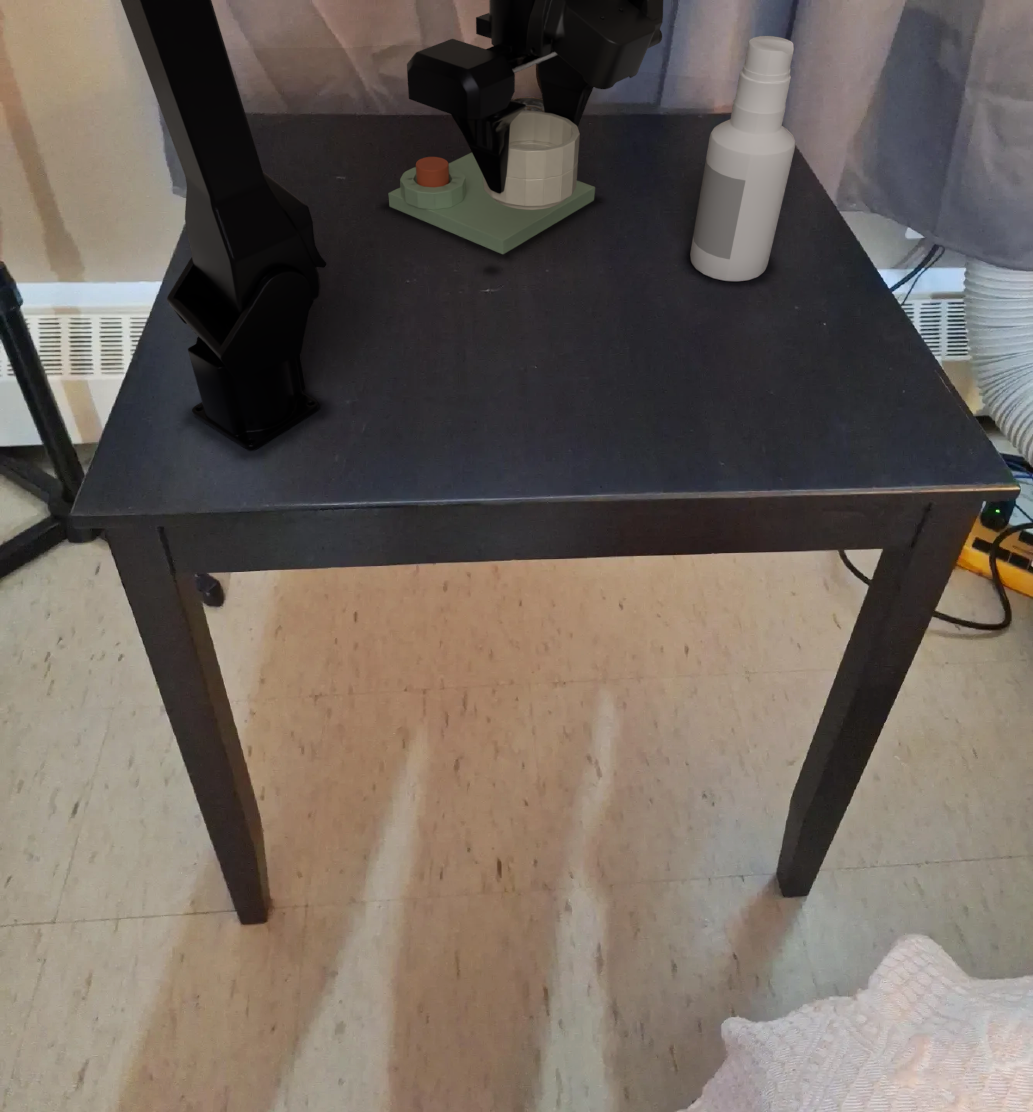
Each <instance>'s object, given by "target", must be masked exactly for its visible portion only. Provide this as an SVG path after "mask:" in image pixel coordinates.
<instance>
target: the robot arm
mask: <svg viewBox="0 0 1033 1112" xmlns="http://www.w3.org/2000/svg"><path fill="white" fill-rule="evenodd" d="M120 3H121V5H122V9H123V11H124V14H125V17H126V19H127V22H128V24H129V27H130V30H131V33H132V35H133V38H134V40H135V44H136V46H137V49H138V52H139V55H140V57H141V60H142V63H143V65H144V68H145V71H146V74H147V76H148V79H149V82H150V85H151V87H152V90H153V93H154V96H155V98H156V100H157V103H158V106H159V109H160V111H161V114H162V118H163V120H164V122H165V123H164V124H165V125H166V128H167V130H168V133H169V137H170V140H171V141H172V144H173V147H174V150H175V152H176V155H177V157H178V160H179V163H180V166H181V168H182V171H183V175H184V178H185V184H186V194H185V205H184V206H185V208H184V221H185V222H184V223H185V227H186V232H187V233H186V234H187V238H188V242H189V248H190V253H191V257H190V259H189V260H188V262H187V264H186V265H185V267H184V268H183V270H182V272H181V273H180V275H179V277H178V278H177V280H176V282H175V283H174V285H173V287H172V288H171V290H170V292H169V293H168V295H167V297H166V302H167V303H168V305H169V306H170V307H171V309H172V310H173V311H174V313H175V314H176V315H177V316H178V318H179V319H180V320H181V322H183V323H184V325H187V326H188V327H189V328H190V329H191V330H192V331H193V333H194V334H195V335H196V336H197V337H196V342H195V344H193V345H190V346H189V347H188V348H187V352H188V356H189V360H190V363H191V367H192V370H193V374H194V377H195V378H194V379H195V381H196V385H197V389H198V393H199V396H200V400H201V402H200V403H197V404H196V405H194V407H192V409H191V412H192V415H193V417H194V418H196V419H197V420H199V421H200V422H202V423H204V425H205V424H206V425H207V426H208V427H210V428H212V429H213V430H214V431H216V432H218V433H220V434H221V435H223V436H224V437H225V438H227V439H229V440H230V441H232V442H234V443H235V444H237V445H239V446H240V447H241V448H243V449H245V450H247V451H255V450H257V449H258V448H260V447H262V446H264V445H265V444H267V443H268V442H269V441H271V440H273V439H274V438H276V437H277V436H279V435H281V434H282V433H284V432H285V431H287V430H289V429H290V428H291V427H293V426H295V425H297V424H298V423H300V422H301V421H303V420H304V419H306V418H307V417H309V416H311V415H312V414H314V413H315V412H317V411H318V410H319V403H318V401H317V400H316V399H314V398H313V397H311V396H309V395H307V394H305V393H304V391H305V390H306V381H305V374H304V368H303V363H302V358H301V354H302V349H303V343H304V339H305V334H306V330H307V329H306V328H307V323H308V317H309V313H310V310H311V308H312V306H313V304H314V301H315V300H317V299H319V297H320V291H321V281H320V273H319V269H318V268H323V269H324V268H326V266H327V262H326V261H325V259H324V258H323V257H322V256H321V255H320V252H319V250H318V248H317V245H316V242H315V234H314V233H315V232H314V224H313V223H314V222H313V218H312V215H311V212H310V208H309V206H308V205H307V204H305V203H304V202H303V201H301V200H300V199H299V198H298V197H297V196H295V195H294V194H293V193H292V192H290V191H289V190H287V188H285V187H284V186H283V185H281V184H280V183H279V182H278V181H276V180H275V179H274V178H273V177H271V176H270V175H269V174H267V173H266V172H265V171H263V168H262V165H261V160H260V158H259V155H258V151H257V148H256V145H255V141H254V138H253V134H252V132H251V128H250V124H249V122H248V121H249V120H248V118H247V115H246V111H245V108H244V104H243V102H242V98H241V95H240V92H239V88H238V84H237V81H236V78H235V75H234V71H233V68H232V65H231V61H230V58H229V54H228V51H227V48H226V44H225V42H224V37H223V34H222V31H221V28H220V25H219V21H218V18H217V14H216V12H215V7H214V5H213V0H120ZM488 11H489V12H486V13H483V14H481V15H479V16H476V17H475V34H476V35H478V36H481V37H485V38H487V39H490V41H491V43H490V44H491V45H492V46H491V47H488V48H484V47H480V46H477V45H474V44H471V43H467V42H464V41H461V40H458V39H455V38H450V39H448V40H444V41H442V42H439V43H436V44H435V45H431V46H429V47H426V48H423V49H421V50H418V51H416V52H415V53H414V54H413V56H412V57H411V58H410V59H409V60H408V62H407V63H406V75H407V92H408V99H409V100H410V101H414V102H416V103H418V104H421V105H424V106H428V107H430V108H432V109H436V110H439V111H441V112H444V113H446V114H450V116H451V117H452V118H453V120H454V122H455V123H456V125H457V127H458V128H459V130H460V132H461V134H462V135H463V137H464V139H465V141H466V143H467V145H468V147H469V149H470V152H471V153H472V154H473V156H474V158H475V160H476V162H477V164H478V166H479V168H480V170H481V172H482V174H483V176H484V178H485V180H486V182H487V185H488V187H489V189H490V190H492V191H494V192H496V193H499V194H500V193H502V192H504V189H505V183H506V176H507V165H508V151H509V136H510V124H511V122H512V121H513V120H514V119H515V118H516V117H517V116H518V115H519V114H520V113H521V112H522V111H523V110H524V109H525V107H526V104H523V103H520V102H517V101H514V100H513V99H512V98H513V96H514V94H515V92H516V73H520V72H522V71H523V70H526V69H528V68H530V67H533V66H536V64H538V70H539V77H540V83H541V91H542V93H541V99H543V105H544V112H545V113H551V114H555V115H558V116H561V117H564V118H567V119H569V120H570V121H571V122H573V123H574V124H575V125H577V127H578V128H579V125H580V122H581V120H582V117H583V114H584V111H585V109H586V107H587V104H588V101H589V99H590V96H591V94H592V92H593V90H594V88H595V89H598V90H608V89H611V88H613V87H614V85H616V83H618V82H621V81H623V80H624V79H627V78H634V77H636V76H637V74H638V73H639V70H640V69H641V65H642V63H643V61H644V58H645V56H646V53H647V51H648V49H650V48H652V47H654V46H656V45H658V44H661V42H662V40H663V33H662V30H661V27H662V24H663V22H664V21H663V20H664V0H488ZM541 91H540V92H541Z"/></svg>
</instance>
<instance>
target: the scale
mask: <svg viewBox="0 0 1033 1112" xmlns="http://www.w3.org/2000/svg"><path fill="white" fill-rule="evenodd" d="M448 164H449V183H448V184H446V185H444V186H441V187H424V186H421V185H419V184H417V177H416V166H414V167H412V168H410V169H408V170H406V171H404V172H403V173H402V175H401V177H400V179H399V186H400V187H398V188H396V189H394V190H392V191H389V192H388V206H389V208H392V209H394V210H396V211H399V212H402V213H403V214H406V215H409V216H411V217H413V218H416V219H418V220H420V221H422V222H425V223H428V224H429V225H433V226H434V227H437V228H439V229H441V230H444V231H446V232H448V233H451V234H454V235H456V236H458V237H461V238H462V239H465V240H468V241H470V242H472V243H474V244H477V245H480V246H482V247H485V248H486V249H489V250H491V251H494V252H496V253H499V254H501V255H505V254H506V253H508V252H510V251H511V250H513V249H515V248H517V247H518V246H520V245H522V244H523V243H525V242H527V241H528V240H530V239H531V238H533V237H535V236H536V235H538V234H540V233H541V232H543V231H545V230H547V229H548V228H550V227H552V226H553V225H555V224H557V223H559V222H560V221H562V220H564V219H565V218H567V217H568V216H570V215H572V214H574V213H576V212H577V211H578V210H580V209H582V208H584V207H585V206H587V205H589V204H591V203H592V202H594V201H595V196H596V195H595V193H596V187H595V186H593V185H590V184H588V183H586V182H582V181H581V180H577V183H576V189H575V190H574V192H573V194H572V195H571V196H570V197H568V198H567V199H566V200H565V201H563V202H562V203H560V204H558V205H556V206H553V207H550V208H546V209H539V210H523V209H516V208H511V207H507V206H505V205H502V204H500V203H498V202H497V201H495V200H494V199H493V198H492V197H491V196H490V195H489V194H488V193H487V192H486V191H485V190H484V188H483V174H482V172H481V170H480V168H479V166H478V164H477V162H476V160H475V158H474V156H473V154H472V152H470V153H468V154H465V155H463V156H461V157H460V158H457V159H455V160H453V161H451V162H448Z"/></svg>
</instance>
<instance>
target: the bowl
mask: <svg viewBox="0 0 1033 1112" xmlns="http://www.w3.org/2000/svg"><path fill="white" fill-rule="evenodd" d="M579 130H580V129H579V126H578V127H577V125H575V124H574V123H573V122H571V121H570V120H569V119H567V118H564V117H561V116H558V115H555V114H551V113H544V112H537V111H523V112H521V113H520V114H519V115H518V116H517V117H516V118H515V119H514V120H513V121H512V122H511V124H510V136H509V151H508V165H507V176H506V183H505V189H504V192H502V193H500V194H499V193H496V192H494V191H492V190H490V189H489V187H488V185H487V182H486V180H485V178H484V176H483V188H484V190H485V191H486V192H487V193H488V194H489V195H490V196H491V197H492V198H493V199H494V200H495V201H497V202H498V203H500V204H502V205H505V206H507V207H511V208H516V209H523V210H539V209H546V208H550V207H553V206H556V205H558V204H560V203H562V202H563V201H565V200H566V199H567V198H568V197H570V196H571V195H572V194H573V192H574V190H575V189H576V183H577V181H578V168H579V164H578V163H579V151H580V131H579Z"/></svg>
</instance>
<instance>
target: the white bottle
mask: <svg viewBox="0 0 1033 1112" xmlns="http://www.w3.org/2000/svg"><path fill="white" fill-rule="evenodd" d="M794 47H795V45H794V42H793V41H791V40H789V39H787V38H784V37H780V36H773V35H760V36H759V35H758V36H754V37H752V38H750V39H749V41H748V43H747V47H746V54H745V60H744V63H743V64H742V65H743V66H742V69H741V70H740V71H739V76H738V82H737V85H736V93H735V97H734V100H733V102H732V103H733V104H732V108H731V114H730V118H729V119H727V120H725V121H722V122H721V123H719V124H717V125H715V126H714V128H712V131H711V132H710V134H709V138H708V145H707V149H706V150H707V152H706V157H705V161H704V168H703V174H702V180H701V187H700V192H699V198H698V204H697V211H696V217H695V221H694V222H695V223H694V228H693V229H694V230H693V234H692V241H691V247H690V254H689V256H690V263H691V264H692V266H693V267H694V268H695V270H696V271H698V272H700V273H701V274H702V275H705V276H707V277H709V278H712V279H715V280H720V281H725V282H744V281H750V280H754V279H756V278H758V277H760V276H761V275H762V274H763V273H764V272H765V271H766V270H767V267H768V265H769V260H770V255H771V252H772V248H773V243H774V240H775V236H776V235H775V234H776V230H777V226H778V222H779V218H780V213H781V209H782V205H783V201H784V197H785V193H786V188H787V183H788V179H789V175H790V170H791V166H792V161H793V157H794V153H795V148H796V140H795V137H794V135H793V133H791V132H790V131H789V130H788V129H787V128H786V127H785V126H784V125H783V122H784V117H785V112H786V109H787V105H786V103H787V97H788V94H789V89H790V85H791V79H792V76H791V71H792V69H791V65H792V60H793V56H794V51H795V49H794Z"/></svg>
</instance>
